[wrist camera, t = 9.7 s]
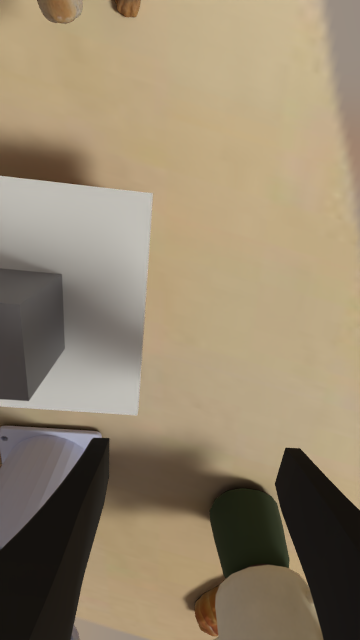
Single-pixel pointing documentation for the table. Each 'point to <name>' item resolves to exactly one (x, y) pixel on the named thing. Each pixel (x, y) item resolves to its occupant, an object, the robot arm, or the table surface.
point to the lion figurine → (80, 9)
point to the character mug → (258, 573)
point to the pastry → (207, 612)
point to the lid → (72, 295)
